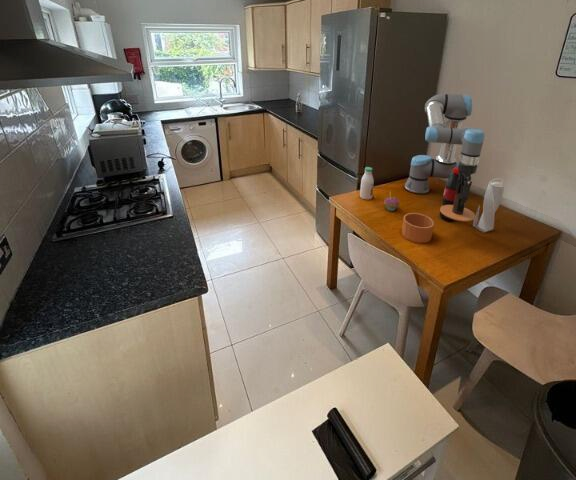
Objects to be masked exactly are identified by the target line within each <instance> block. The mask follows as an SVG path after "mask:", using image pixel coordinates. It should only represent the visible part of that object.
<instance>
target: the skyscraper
mask: <svg viewBox="0 0 576 480" xmlns="http://www.w3.org/2000/svg"><path fill="white" fill-rule="evenodd" d="M494 180H501V182H499V181H494ZM504 182H505V179H504V178H501V177H499V178H497V177H496V178H493V179H491V180H490V181H488V185H487V187H486V189H485V193H484V197H483V204H482V214H481V216H480V209H481V205H480V204H479V205H478V208H477V210H476V212H475V219H474V220H473V223H472V224H471V227H473V228H474V229H476V230H478V231H480V232H482V233H488V232H491V231H492V232H493V231H494V228H495V213H496V212H497V211H498V209H499V207H500V205H501V203H502V200H503V197H504V190H505V186H504V185H503V183H504ZM479 216H480V217H479Z"/></svg>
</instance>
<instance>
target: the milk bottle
mask: <svg viewBox="0 0 576 480" xmlns="http://www.w3.org/2000/svg"><path fill="white" fill-rule="evenodd" d="M373 170H374V169H373V167H370V166H366V167H365V168H364V174H363V175H362V176H361V180H360V188H359V197H360V199H362V200H365V201H366V200H367V201H369V200H372V199H373V193H374V185H375V184H374V183H375V182H374V181H375V180H374V176H373Z"/></svg>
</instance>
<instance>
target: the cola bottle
mask: <svg viewBox="0 0 576 480" xmlns="http://www.w3.org/2000/svg"><path fill="white" fill-rule="evenodd" d="M452 173H453V174H452V176H451V177H450V178H449V179H447V180H446V181H445V184H444V191H443V195H442V206H444V205H453V204H454V199H455V194H456V193H457V192H456V191H457V190H456V186H457V181H458V177H459V171H458V168H453V171H452ZM439 217H440V218H441V220H444V221H447V222H454V221H455V220H454V219H451V218H448V217H446V216H445V215H443V214H442V213H441V211H440V210H439Z"/></svg>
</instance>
